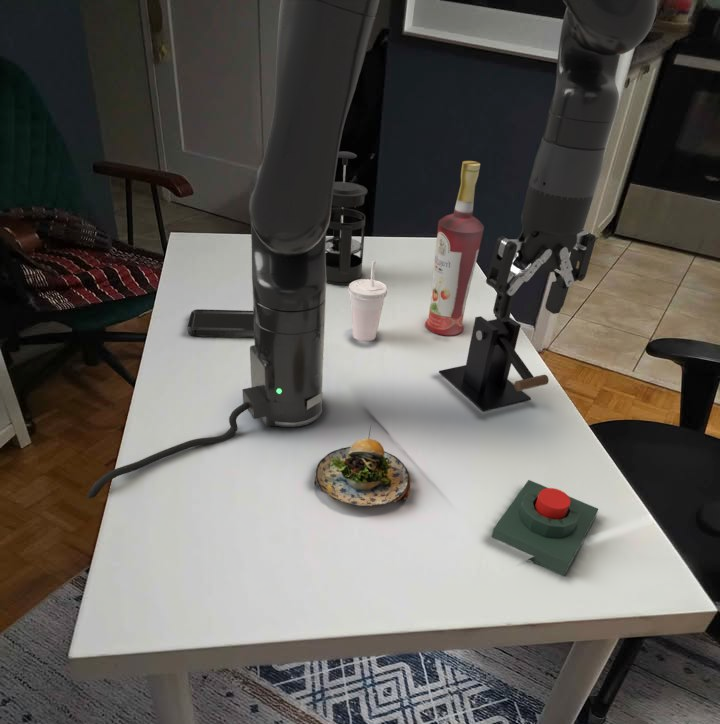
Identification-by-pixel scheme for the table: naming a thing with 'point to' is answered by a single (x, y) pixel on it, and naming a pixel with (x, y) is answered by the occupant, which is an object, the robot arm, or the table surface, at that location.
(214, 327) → the phone
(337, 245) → the french press
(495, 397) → the black stand
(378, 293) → the smoothie
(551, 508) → the power button
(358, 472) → the burger
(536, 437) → the table surface
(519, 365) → the toast lever
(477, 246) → the liquor
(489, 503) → the table surface
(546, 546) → the green piece
